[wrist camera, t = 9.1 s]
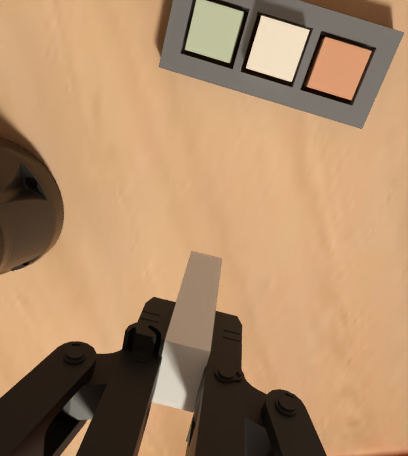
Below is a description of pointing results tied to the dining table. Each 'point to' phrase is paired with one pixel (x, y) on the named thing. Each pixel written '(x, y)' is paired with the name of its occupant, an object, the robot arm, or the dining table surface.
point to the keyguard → (292, 96)
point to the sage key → (214, 30)
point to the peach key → (337, 68)
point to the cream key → (277, 48)
